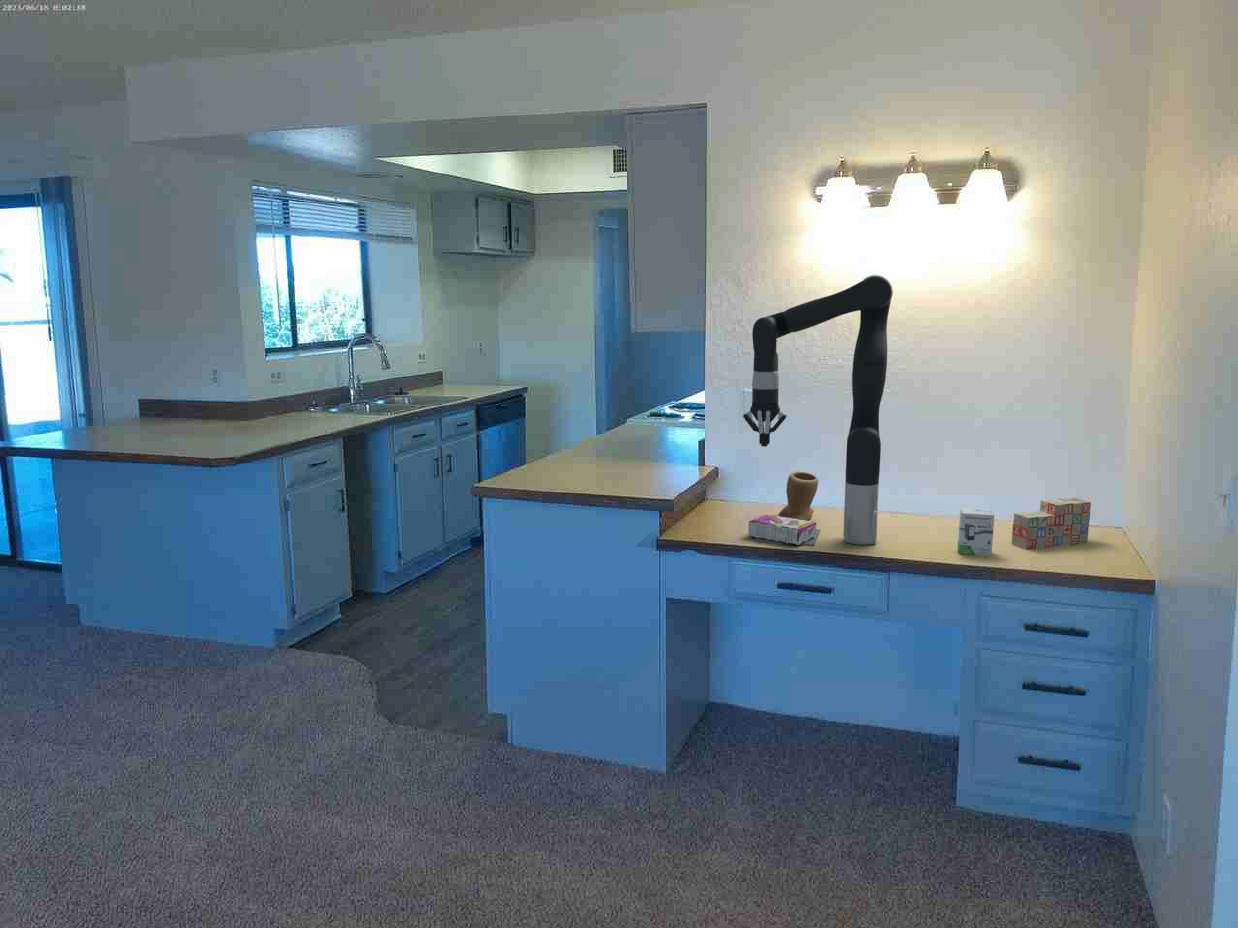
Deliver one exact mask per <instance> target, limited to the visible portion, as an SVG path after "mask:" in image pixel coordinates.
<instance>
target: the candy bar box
mask: <svg viewBox="0 0 1238 928" xmlns="http://www.w3.org/2000/svg"><path fill="white" fill-rule="evenodd" d="M816 529H817V522H816V521H811V520H807V521H805V520H799V519H792V518H786V517H780V516H778V515H774V514H773V515H772V514H765V515H762V516H760V517H758V518H757V517H756V518H753V519H751V520H749V521H748V537H750V538H751V537H752V538H761V539H767V540H773V541H778V542H783V543H790V544H789V545H794V544H795V546H800V545H799V544H801V543H804V542H806V541H809V540H811V539H814V538H816Z"/></svg>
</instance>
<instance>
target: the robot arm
mask: <svg viewBox="0 0 1238 928" xmlns="http://www.w3.org/2000/svg"><path fill="white" fill-rule="evenodd" d="M893 294H894V288H893V284H892V282H891V281H890V279H888V277H886V276H884V275H881V274H871V275H868V276H866V277H865V278H863V279H862V280H861V281H860V282H857V283H856V284H854V285H852V286H850V287H848V288H846V289H844V290H840V291H839V292H836V293H833V294H829V295H827V296H824V297H820V298H816V299H813V300H809V301H806V302H804V303H800V304H797V305H795V306H792V307H790V308H788V309H786V310H783V311H781V312H777V313H774V314H770V315H767V316H763V317H760V318H758V319H756V321H755V322H754V324H753V327H752V332H751V335H752V349H753V372H752V378H751V379H752V382H751V386H752V389H751V393H752V394H751V406H750V407H749V408H750V409H749V411H748V412H746V413H744V414H743V416H742V418H743V419H744V420H745V421H746V423H747V424H748V425H749V427H750V428H751V429H752V431H754V432H757V433H758V434H759V435H758V437H759V439H758V442H759V445H760V446H761V447H766V448H767V447H768V445H770V443H771V442H770V441H771V436H770V435H771V433H774V432H775V431H777V429H778V428H779V427H780V426H781V425H782V423H784V421H785V420H786V418H787V417H788V415H787V414H786V413H785V414H784V413H783V412H782V411H781V408H780V405H779V391H780V390H779V385H780V382H779V380H780V378H779V356H778V355H779V354H778V352H777V339H779V338H781V337H784V336H787V335H789V334H792V333H797V332H801V331H803V330H807V329H809V328H813V327H815V326H818V325H820V324H823V323H826V322H828V321H830V320H834V319H835V318H837V317H840V316H844V315H847V314H849V313H854V312H859V311H860V319H859V322H860V323H859V330H858V334H857V337H856V341H855V347H854V352H853V353H854V354H853V359H852V371H851V394H852V415H851V421H850V426H849V429H848V430H849V431H848V435H847V438H846V453H845V454H846V457H845V460H846V461H845V486H844V506H843V507H844V508H843V510H844V511H843V512H844V513H843V532H842V533H843V536H842V537H843V539H842V540H843V542H845V543H849V544H853V545H862V546H863V545H865V546H866V545H876V544H877V537H878V515H879V508H878V503H879V483H880V472H881V471H880V470H881V469H880V468H881V448H882V445H881V444H882V443H881V437H880V407H881V402H882V399H883V394H884V390H885V385H886V378H887V368H888V367H887V366H888V331H887V329H888V328H887V326H888V318H889V312H890V308H891V302H892V298H893V296H894V295H893ZM753 417H754V418H755V420H756V421H757V424H756V422H755V420H754V419H753ZM776 417H777V421H776V423H775V424H774V425H773V426H772V421H774V419H776ZM771 426H772V427H771Z"/></svg>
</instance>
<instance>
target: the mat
mask: <svg viewBox="0 0 1238 928" xmlns="http://www.w3.org/2000/svg"><path fill="white" fill-rule="evenodd" d="M820 533H821V528H816V538H814V539H811V540H809V541H806V542H804V543H801V544H799V545H798V546H811V547H815V545H816V543H817V541H818V540H817V539H818V538H819V535H820ZM754 538H755V539H754V540H753V542H755V543H756V542H757V543H767V544H769V543H770V544H782V545H791V544H790V543H783V542H778V541H773V540H767V539H761V538H756V537H754ZM794 545H795V544H793V546H794ZM795 546H796V545H795Z"/></svg>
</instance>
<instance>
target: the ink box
mask: <svg viewBox="0 0 1238 928" xmlns="http://www.w3.org/2000/svg"><path fill="white" fill-rule="evenodd" d="M994 527H995V513H994V511H993V510H988V509H987V510H986V509H974V508H973V509H972V508H962V509H960V514H959V527H958V539H957V553H958V554H959V555H967V556H968V555H970V556H980V557H981V556H982V557H992V553H993V540H994Z"/></svg>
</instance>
